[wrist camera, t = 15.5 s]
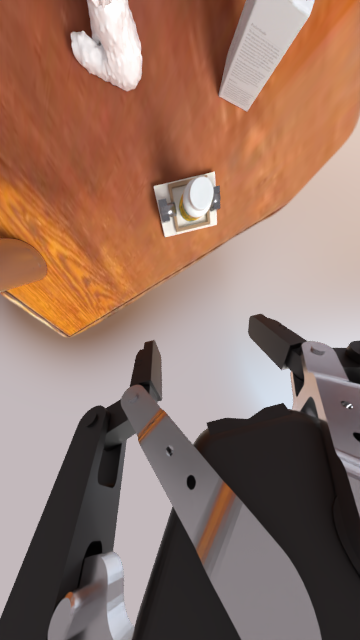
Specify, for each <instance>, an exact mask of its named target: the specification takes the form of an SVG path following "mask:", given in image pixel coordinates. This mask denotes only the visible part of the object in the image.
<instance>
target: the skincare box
mask: <svg viewBox="0 0 360 640" xmlns="http://www.w3.org/2000/svg"><path fill="white" fill-rule="evenodd" d="M314 1H315V0H246V2H245V5H244V8H243V11H242V14H241V17H240V20H239V22H238V25H237V28H236V31H235V34H234V37H233V40H232V43H231V45H230V48H229V51H228V54H227V58H226V64H225V68H224V73H223V77H222V82H221V86H220V91H219V97H221V98H223V99H225V100H227V101H229V102H230V103H232V104H234V105H236V106H238V107H240V108H241V109H243V110H245V111H248V109H249V108H250V106H251V105H252V103H253V102H254V100H255V99H256V97H257V96H258V94H259V92H260V91H261V89H262V88H263V86H264V85H265V83H266V82H267V80H268V79H269V77H270V76H271V74H272V72H273V71H274V69H275V68H276V66H277V65H278V63H279V62H280V60H281V59H282V57H283V56H284V54H285V53H286V51H287V49H288V48H289V46H290V45H291V43H292V42H293V40H294V39H295V37H296V35H297V34H298V32H299V31H300V29H301V28H302V26H303V25H304V23H305V22H306V20H307V19H308V17H309V16H310V13H311V10H312V7H313V4H314Z"/></svg>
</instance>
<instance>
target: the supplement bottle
mask: <svg viewBox="0 0 360 640" xmlns="http://www.w3.org/2000/svg"><path fill="white" fill-rule="evenodd" d="M213 194H214V190H213V185H212V183H211V181H210V180H209V179H208V178H207V177H204V176H201V177H198V178H194V179H192V180H191V181H190V182H189V183H188V184H187V185H186V187H185V190H184V192H183V194H182V196H181V199H180V202H179V211H180V214H181V216H182V218H183V219H184V220H186V221H189V222H192V221H195V220H197V219H198V218H200V217H202V216H203V215H204V214H206V212H207V211H208V210H209V208H210V206H211V202H212V199H213Z"/></svg>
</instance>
